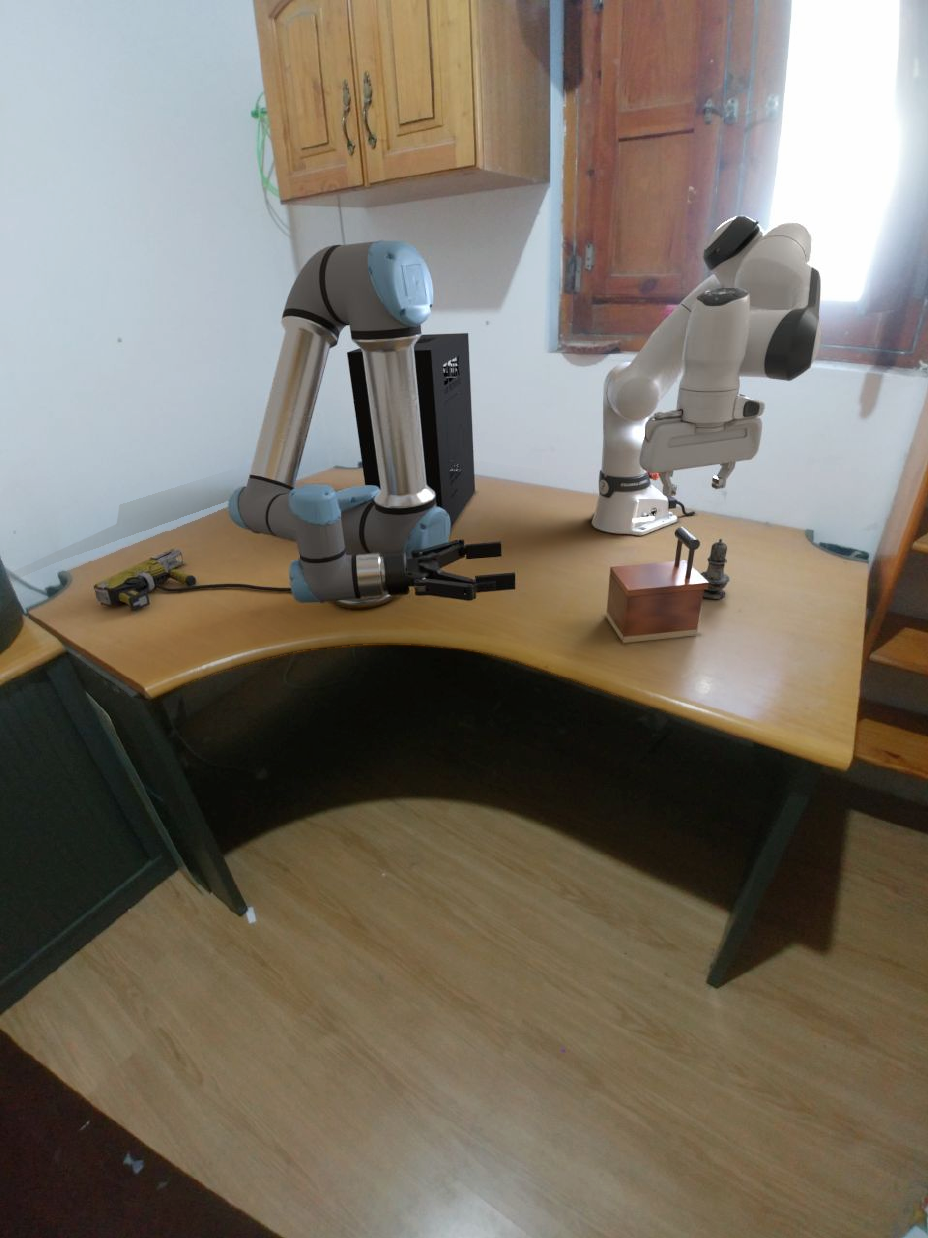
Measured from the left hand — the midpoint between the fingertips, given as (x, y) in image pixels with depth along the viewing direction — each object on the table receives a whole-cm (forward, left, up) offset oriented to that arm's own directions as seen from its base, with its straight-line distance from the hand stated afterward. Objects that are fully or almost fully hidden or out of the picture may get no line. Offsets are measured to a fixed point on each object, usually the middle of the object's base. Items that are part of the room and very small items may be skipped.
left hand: (508, 564), depth 104 cm
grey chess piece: (+36, +28, -16) cm, 48 cm away
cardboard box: (-41, +63, -16) cm, 77 cm away
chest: (+24, +12, -16) cm, 31 cm away
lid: (+25, +12, -6) cm, 28 cm away
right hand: (+29, +14, +10) cm, 34 cm away
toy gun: (-84, +3, -16) cm, 85 cm away
